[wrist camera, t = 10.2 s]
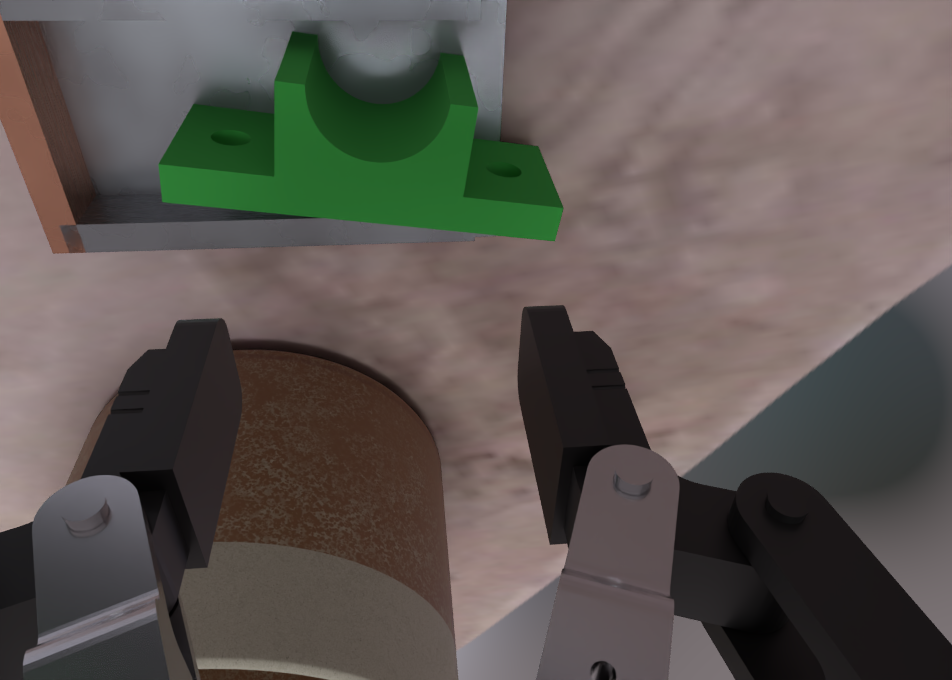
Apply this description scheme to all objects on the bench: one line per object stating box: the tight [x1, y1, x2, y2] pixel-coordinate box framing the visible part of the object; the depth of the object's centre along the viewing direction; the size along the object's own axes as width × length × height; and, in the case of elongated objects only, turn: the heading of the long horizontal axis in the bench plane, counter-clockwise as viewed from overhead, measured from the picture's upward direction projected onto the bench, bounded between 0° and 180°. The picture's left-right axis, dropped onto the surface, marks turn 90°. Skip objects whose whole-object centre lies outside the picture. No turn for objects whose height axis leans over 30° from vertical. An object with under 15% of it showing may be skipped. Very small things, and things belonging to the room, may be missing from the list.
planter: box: [66, 350, 458, 680], centre depth 29 cm, size 16×16×14 cm
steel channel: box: [0, 0, 507, 253], centre depth 22 cm, size 10×15×3 cm, turn 89°
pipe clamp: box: [158, 31, 563, 241], centre depth 21 cm, size 11×4×5 cm, turn 81°
